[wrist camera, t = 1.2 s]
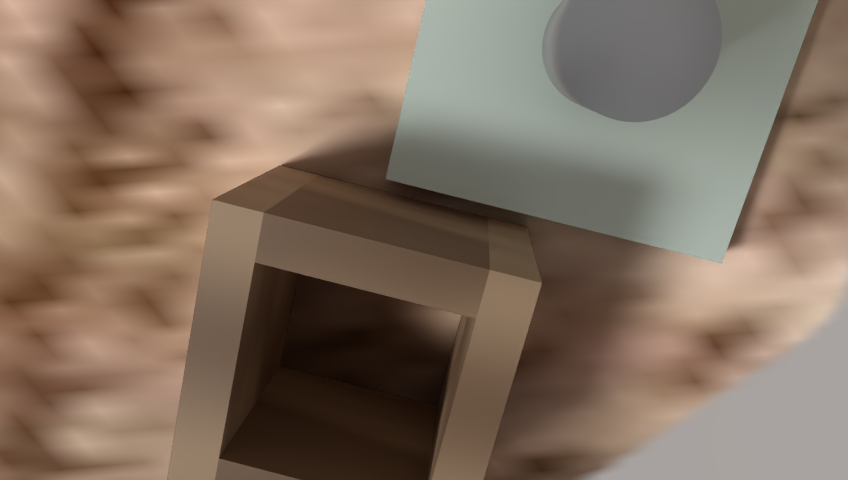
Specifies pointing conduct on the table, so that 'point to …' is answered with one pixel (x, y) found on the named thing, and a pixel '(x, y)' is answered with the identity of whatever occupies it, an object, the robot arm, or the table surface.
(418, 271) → the walnut sleeve
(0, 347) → the table surface
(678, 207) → the post block
